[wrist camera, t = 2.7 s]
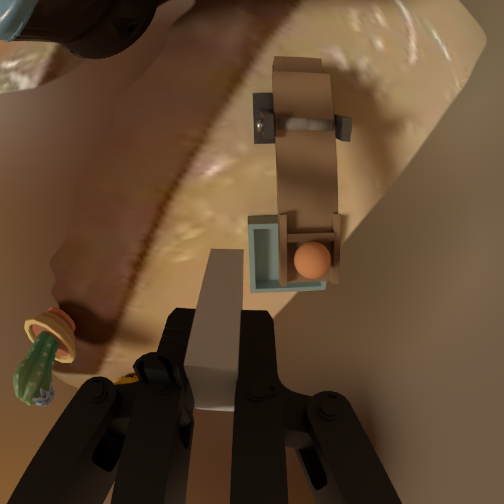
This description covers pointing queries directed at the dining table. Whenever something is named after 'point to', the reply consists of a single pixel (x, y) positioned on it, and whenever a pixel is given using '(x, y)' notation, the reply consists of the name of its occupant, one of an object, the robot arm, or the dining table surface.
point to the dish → (269, 258)
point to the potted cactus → (44, 355)
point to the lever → (305, 164)
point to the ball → (312, 260)
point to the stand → (266, 125)
